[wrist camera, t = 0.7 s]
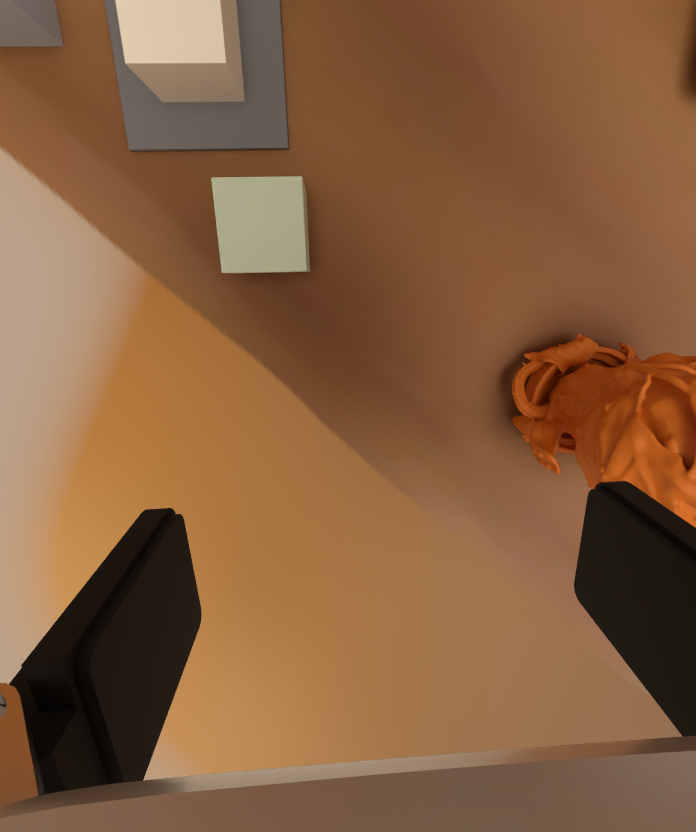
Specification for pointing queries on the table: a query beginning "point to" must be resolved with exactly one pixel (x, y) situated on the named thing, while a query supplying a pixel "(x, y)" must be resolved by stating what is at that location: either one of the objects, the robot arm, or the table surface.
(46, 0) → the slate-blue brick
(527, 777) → the robot arm
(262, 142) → the mat
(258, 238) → the pale green cube
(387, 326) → the table surface
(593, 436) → the orange sculpted figure
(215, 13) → the beige cube
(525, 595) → the table surface
